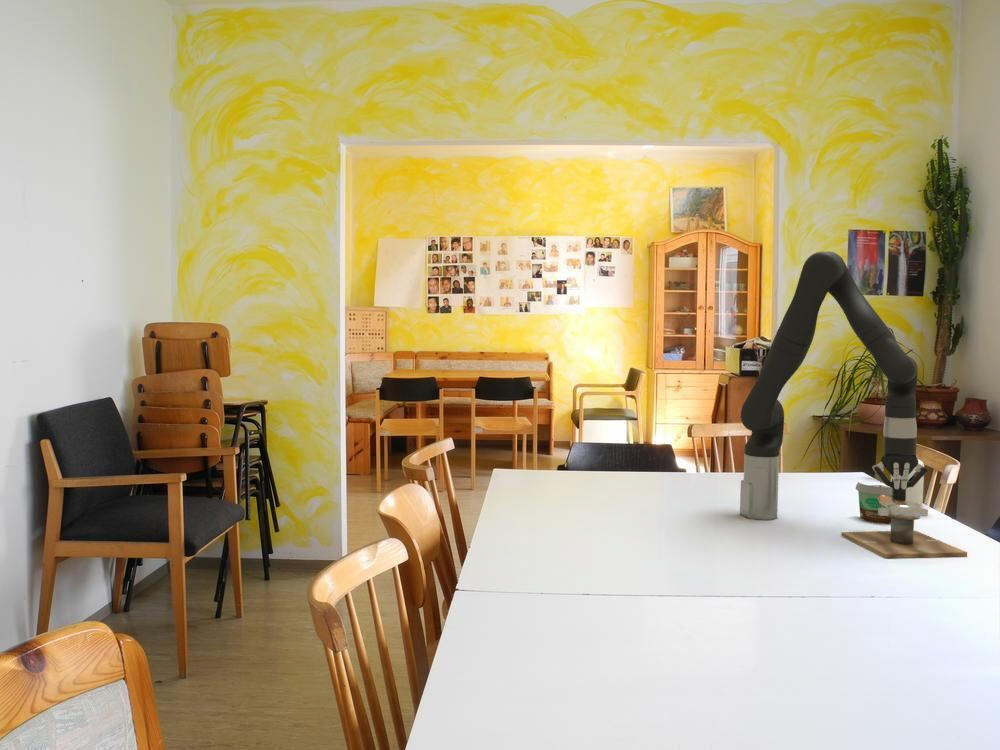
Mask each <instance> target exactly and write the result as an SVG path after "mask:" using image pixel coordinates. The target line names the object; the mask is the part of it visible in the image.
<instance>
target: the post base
mask: <svg viewBox="0 0 1000 750" xmlns="http://www.w3.org/2000/svg"><path fill="white" fill-rule="evenodd" d="M914 525H915V520H903V519H896V518H891V523H890V530H883V531H882V530H880V531H879V530H877V531H874V530H873V531H841V533H840V537H843V538H845V539H847V540H849V541H850V542H852V543H855V544H857V545H859V546H861V547H862V548H864V549H866V550H868V551H870V552H872V553H874V554H876V555H878V556H880V557H882V558H884V559H917V558H918V559H919V558H921V559H922V558H927V559H928V558H957V557H958V558H960V557H963V558H964V557H968V551H966V550H963V549H961V548H958V547H956V546H953V545H951V544H948V543H946V542H944V541H941V540H939V539H936V538H934V537H933V536H930V535H927V534H925V533H922V532H920V531H918V530H915V529H914V527H915V526H914Z"/></svg>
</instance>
